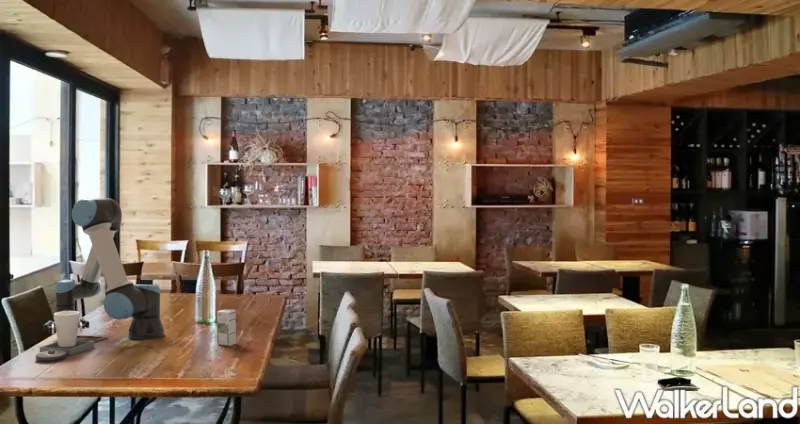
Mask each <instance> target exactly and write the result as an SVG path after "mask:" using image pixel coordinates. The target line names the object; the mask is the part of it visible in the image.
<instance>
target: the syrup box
mask: <svg viewBox="0 0 800 424" xmlns="http://www.w3.org/2000/svg"><path fill="white" fill-rule="evenodd" d="M216 313H217V315H216V322H217V323H216V324H217V326H216V327H217V332H216V333H217V337H216V338H217V346H223V347H224V346H226V347H230V346H233V345H235V344H237V342H236V341H237V338H236V337H237V336H236V335H237V334H236V333H237V332H236V331H237V330H236V322H237V320H236V315H237V314H236V313H237V312H236V310H235V309H226V308H225V309H220V310H218V311H216Z"/></svg>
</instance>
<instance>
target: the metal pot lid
mask: <svg viewBox="0 0 800 424" xmlns="http://www.w3.org/2000/svg"><path fill="white" fill-rule="evenodd" d="M66 359H67V353H66V352H65V351H62V350H54V349H51V350H48V351H44V352H40V351H39V352H38V353H36V354H35V362H37V363H42V364H43V363H46V364H48V363H49V364H50V363H56V362H61V361H64V360H66Z"/></svg>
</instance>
